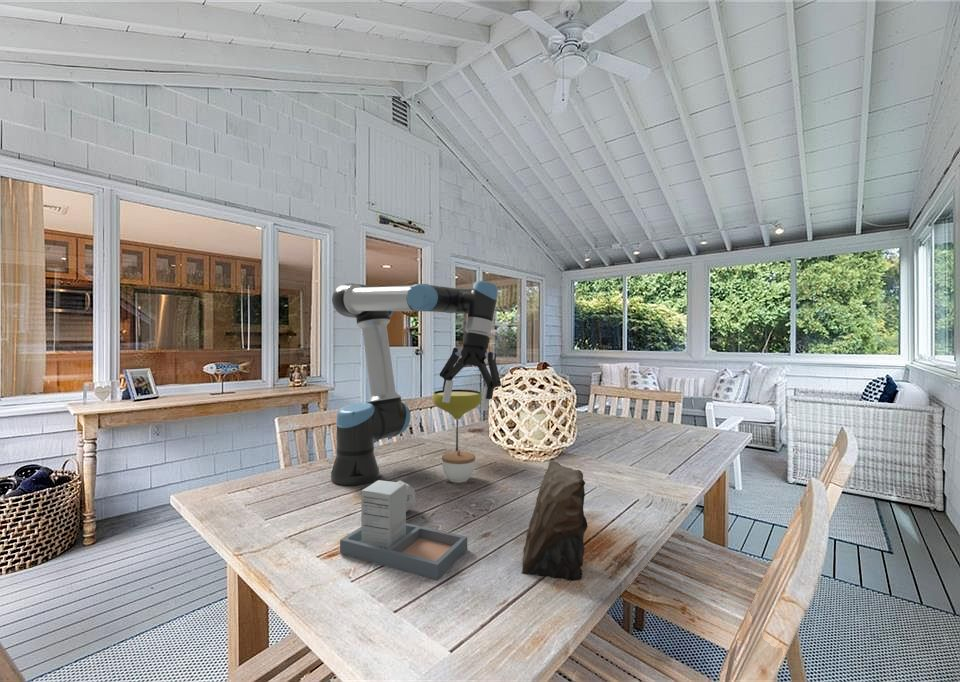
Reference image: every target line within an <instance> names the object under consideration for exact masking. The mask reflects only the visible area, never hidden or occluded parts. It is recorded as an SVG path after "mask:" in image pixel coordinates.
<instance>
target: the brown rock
mask: <svg viewBox="0 0 960 682" xmlns="http://www.w3.org/2000/svg"><path fill="white" fill-rule="evenodd" d="M585 485H586V481H585V480H584V473H583V472H582V470H580V469H573V468H572V467H566V466H564V465H561V463H559V462H558V461H554V460H550V461H549V462H548V466H547V469H546V471H545V474H544V476H543V478H542V482H541V484H540V487H539V490H538V494H537V497H536V502H535V507H534V510H533V513H532V516H531V518H530V520H529V525H528V528H527V534H526V539H525V543H524V547H523V552H522V553H523V556H522V563H521V565H522V567H521V568H522V571H521V574H523V575H530V576H537V577H544V578H545V577H546V578H552V579H562V580H564V581H569V582H571V581H573V582H574V581H580V580H582V579H583V575H584V574H583V569H582V567H583V565H584V563H583V562H584V555H585V550H586V549H585V543H584V535H585V533H586V530H588V527H589V526H588V522H587V518H586V516H585V511H584V504H585V496H586V492H585Z"/></svg>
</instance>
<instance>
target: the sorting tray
mask: <svg viewBox="0 0 960 682" xmlns="http://www.w3.org/2000/svg"><path fill="white" fill-rule="evenodd" d="M467 551H468V536H466V535H461V534H457V533H452V532H449V531H443V530H439V529H434V528H430V527H424V526H420V525H416V524H412V523H408V522H406V535H405V536H404V537H403V538H401V539H400V540H399V541H397V542H396V543H394V544H393V545H392V546H390V547H389V548H388V549H386V548H382V547H378V546H374V545H370V544H366V543H362V529H361V526H360V527H359V528H356V529H355V530H354V531H352V532H350V533H349V534H347V535H345V536H344V537H342V538H340V540H339V554H340V555H344V556H347V557H351V558H355V559H359V560H363V561H366V562H369V563H373V564H377V565H380V566H384V567H388V568H392V569H395V570H398V571H402V572H406V573H408V574H414V575H417V576H420V577H425V578H428V579H431V580H436V581H438V580H439V579H441V577H443V575H444V574H446V572H448V570H449V569H451V567H453V565H455V563H456V562H457V561H458V560H460V558H461V557H462V556H463V555H465V553H466V552H467Z"/></svg>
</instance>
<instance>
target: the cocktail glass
mask: <svg viewBox="0 0 960 682" xmlns="http://www.w3.org/2000/svg"><path fill="white" fill-rule="evenodd" d="M443 394H444V390H443V389H442V390H436V391H434V392H433V395H432V401H433V404H434V405H435V406H436V407H438V408H439V409H441V410H442V411H444V412H446V413H449V414H450V415H451V416H452V417H453V419H454V420H455V421H456V422H455V423H456V425H455V426H456V427H455V428H456V429H455V430H456V433H455V435H456V436H455V451H454V452H457V451H458V450H459V420H460V419H461V418H462V416H464V415H465V414H466V413H468V412H470V411H472V410H474V409H475V408H477V407H478V406H480V404H481V403H482V397H483V395H482V392H481V391H478V390H473V389H452V392H451V397H450V403H445V402H442V399H443Z"/></svg>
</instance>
